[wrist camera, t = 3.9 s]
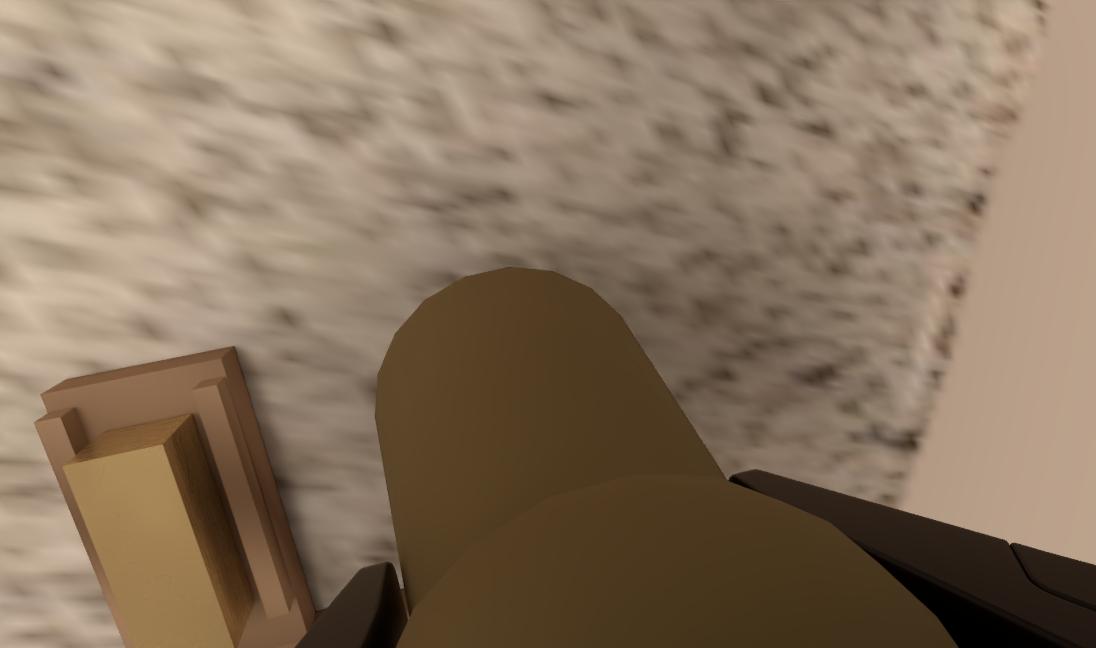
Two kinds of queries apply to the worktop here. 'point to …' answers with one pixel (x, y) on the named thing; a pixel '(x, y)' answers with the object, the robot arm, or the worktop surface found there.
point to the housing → (234, 460)
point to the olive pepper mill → (593, 496)
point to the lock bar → (162, 535)
